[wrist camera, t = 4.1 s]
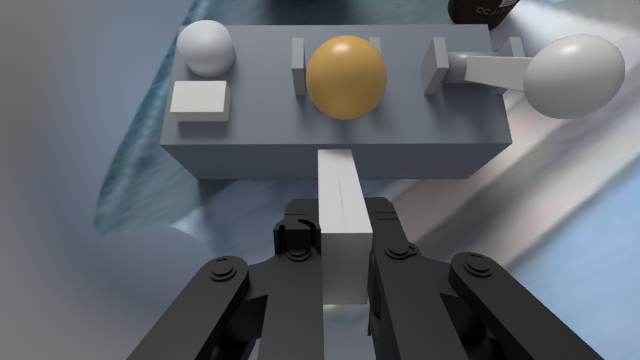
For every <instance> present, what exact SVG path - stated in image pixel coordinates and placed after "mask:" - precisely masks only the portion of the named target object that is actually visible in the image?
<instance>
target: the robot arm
mask: <svg viewBox="0 0 640 360" xmlns="http://www.w3.org/2000/svg"><path fill="white" fill-rule="evenodd" d="M273 232H274V245H275V255H274V256H273V257H272V258H270V259H268V260H266V261H264V262H261V263H258V264H254V265H250V266H247V263H246V262H245V261H244V260H243V259H242V258H238V257H235V256H223V257H219V258H215V259H213V260H211V261H209V262H207V263H206V264H205V265H204V266H203V267H202V268H201V269H200V270H199V271H198V272H197V273H196V275H195V276H194V277H193V278H192V279H191V281H190V282H189V283H188V284H187V286H186V287H185V288H184V289H183V291H182V292H181V293H180V294H179V295H178V297H177V298H176V299H175V300H174V302H173V303H172V304H171V305H170V306H169V308H168V309H167V310H166V311H165V313H164V314H163V315H162V316H161V317H160V319H159V320H158V321H157V322H156V324H155V325H154V326H153V327H152V329H151V330H150V331H149V332H148V334H147V335H146V336H145V337H144V338H143V340H142V341H141V342H140V343H139V344H138V346H137V347H136V348H135V349H134V351H133V352H132V353H131V354H130V356H129V357H128V358H127V359H126V360H248V358H249V356H250V354H251V352H252V350H253V348H254V345H255V342H256V339H258V338H261V341H260V347H259V353H258V358H257V360H324V335H323V305H327V304H367V299H368V296H369V301H370V312H369V324H368V336H371V333H372V337H373V343H374V349H375V355H376V360H604V359H603V358H602V357H601V356H600V355H599V354H598V353H597V352H595V351H594V350H593V349H592V348H591V347H590V346H589V345H588V344H587V343H585V342H584V341H583V340H582V339H581V338H580V337H579V336H578V335H577V334H575V333H574V332H573V331H572V330H571V329H570V328H569V327H568V326H567V325H565V324H564V323H563V322H562V321H561V320H560V319H559V318H558V317H557V316H556V315H554V314H553V313H552V312H551V311H550V310H549V309H548V308H547V307H546V306H544V305H543V304H542V303H541V302H540V301H539V300H538V299H537V298H536V297H534V296H533V295H532V294H531V293H530V292H529V291H528V290H527V289H526V288H524V287H523V286H522V285H521V284H520V283H519V282H518V281H517V280H516V279H514V278H513V277H512V276H511V275H510V274H509V273H508V272H507V271H506V270H504V269H503V268H502V267H501V266H500V265H499V264H498V263H496V262H495V261H493V260H492V259H491V258H488V257H486V256H484V255H481V254H477V253H471V252H467V253H460V254H457V255H455V256H454V257H453V258H452V260H451V264H449V263H444V262H440V261H435V260H431V259H428V258H426V257H423V256H422V254H421V252H420V250H419V249H418V248H417V246H415V245H414V244H412V243H411V242H408V240H407V238H406V235H405V233H404V231H403V228H402V226H401V223H400V221H399V220H398V216H397V214H396V211H395V209H394V206H393V204H392V203H391V202H389V201H388V200H387V199H386V198H384V197H373V198H363V194H362V190H361V186H360V183H359V179H358V175H357V171H356V168H355V164H354V160H353V156H352V153H351V149H327V150H318V199H292V201H291V202H290V203H289V204H288V205H287V206H286V211H285V218H284V220H282V221H280V222H279V223H277V224H276V226H275V227H274V229H273Z"/></svg>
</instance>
